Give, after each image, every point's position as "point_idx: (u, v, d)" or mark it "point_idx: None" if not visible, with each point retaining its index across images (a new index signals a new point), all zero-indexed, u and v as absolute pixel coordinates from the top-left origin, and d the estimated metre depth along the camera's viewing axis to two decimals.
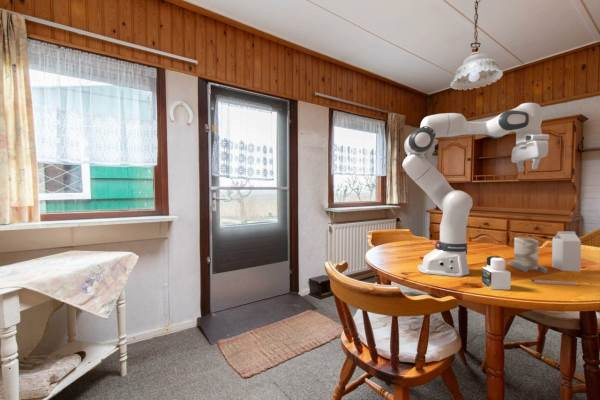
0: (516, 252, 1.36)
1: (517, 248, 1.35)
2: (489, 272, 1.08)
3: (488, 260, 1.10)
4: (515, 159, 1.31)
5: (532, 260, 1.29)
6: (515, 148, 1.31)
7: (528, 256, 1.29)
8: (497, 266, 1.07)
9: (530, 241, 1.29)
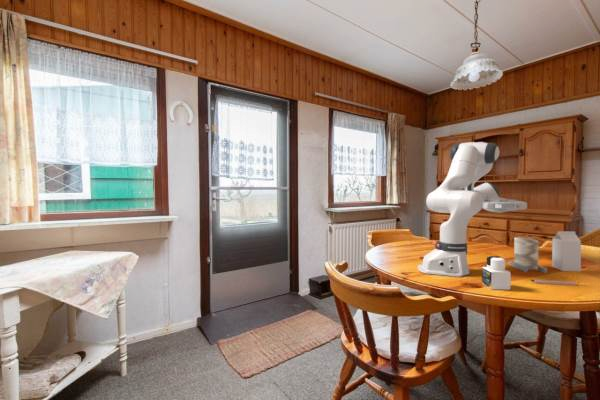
0: (516, 252, 1.36)
1: (517, 248, 1.35)
2: (489, 272, 1.08)
3: (488, 260, 1.10)
4: (492, 202, 1.53)
5: (532, 260, 1.29)
6: None
7: (528, 256, 1.29)
8: (497, 266, 1.07)
9: (530, 241, 1.29)
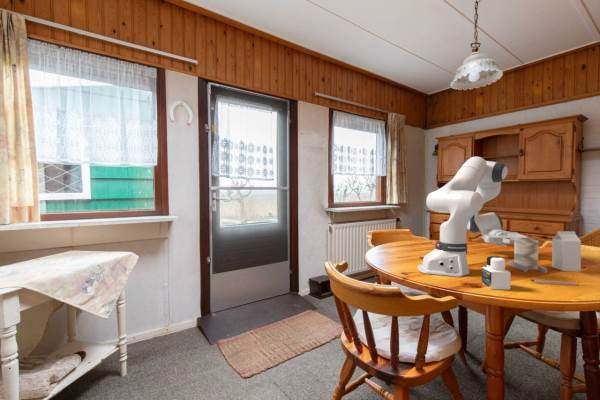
0: (516, 252, 1.36)
1: (517, 248, 1.35)
2: (489, 272, 1.08)
3: (488, 260, 1.10)
4: (493, 236, 1.52)
5: (532, 260, 1.29)
6: (489, 234, 1.57)
7: (528, 256, 1.29)
8: (497, 266, 1.07)
9: (530, 241, 1.29)
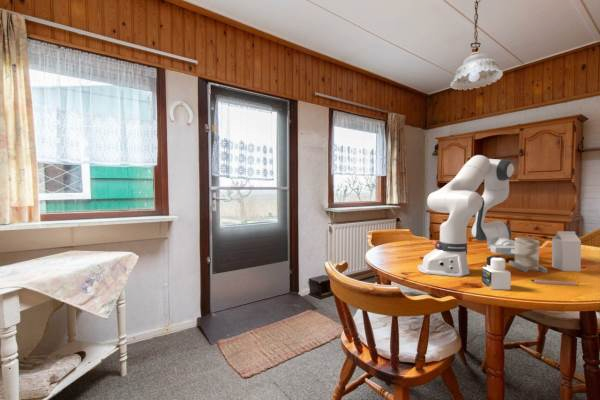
0: (516, 252, 1.35)
1: (518, 248, 1.34)
2: (489, 272, 1.08)
3: (488, 260, 1.10)
4: (500, 246, 1.44)
5: (533, 260, 1.28)
6: (496, 244, 1.49)
7: (528, 257, 1.29)
8: (497, 266, 1.07)
9: (531, 241, 1.28)
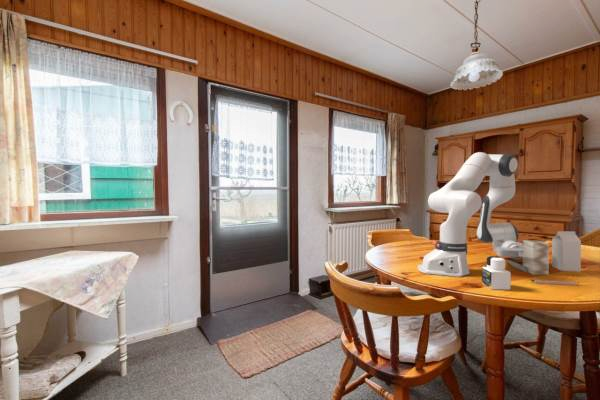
0: (525, 256, 1.28)
1: (526, 251, 1.27)
2: (489, 272, 1.08)
3: (488, 260, 1.10)
4: (507, 249, 1.37)
5: (542, 264, 1.22)
6: (502, 247, 1.42)
7: (537, 260, 1.22)
8: (497, 266, 1.07)
9: (540, 244, 1.22)
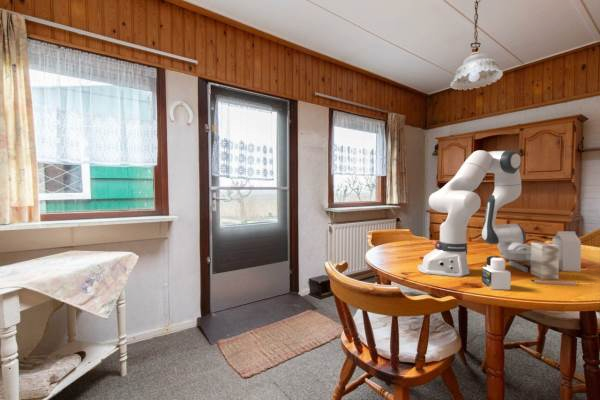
0: (533, 259, 1.22)
1: (534, 254, 1.21)
2: (489, 272, 1.08)
3: (488, 260, 1.10)
4: (514, 252, 1.31)
5: (552, 268, 1.15)
6: (509, 249, 1.36)
7: (547, 264, 1.16)
8: (497, 266, 1.07)
9: (550, 247, 1.15)
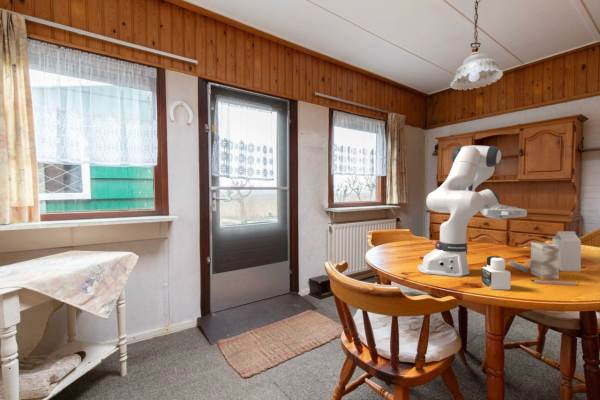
0: (533, 259, 1.22)
1: (534, 254, 1.21)
2: (489, 272, 1.08)
3: (488, 260, 1.10)
4: (492, 209, 1.53)
5: (552, 268, 1.15)
6: None
7: (547, 264, 1.16)
8: (497, 266, 1.07)
9: (550, 247, 1.15)
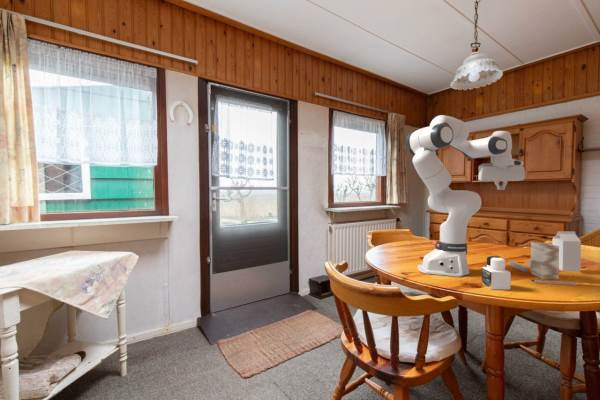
0: (533, 259, 1.22)
1: (534, 254, 1.21)
2: (489, 272, 1.08)
3: (488, 260, 1.10)
4: (488, 178, 1.42)
5: (552, 268, 1.15)
6: (488, 168, 1.42)
7: (547, 264, 1.16)
8: (497, 266, 1.07)
9: (550, 247, 1.15)
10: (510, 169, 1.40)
